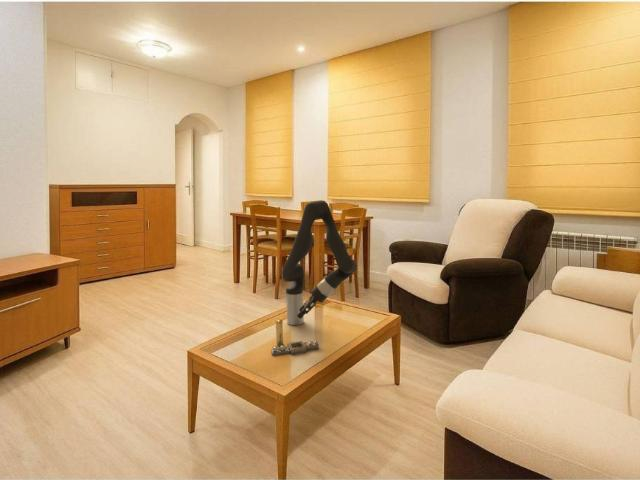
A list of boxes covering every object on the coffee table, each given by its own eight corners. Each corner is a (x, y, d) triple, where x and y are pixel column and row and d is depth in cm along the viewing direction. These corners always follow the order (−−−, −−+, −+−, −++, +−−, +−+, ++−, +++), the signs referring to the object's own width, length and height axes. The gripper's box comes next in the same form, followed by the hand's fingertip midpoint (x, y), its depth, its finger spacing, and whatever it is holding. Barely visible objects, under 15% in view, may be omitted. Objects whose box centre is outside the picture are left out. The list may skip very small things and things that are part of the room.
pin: (276, 344, 186) (275, 319, 184) (282, 343, 186) (281, 319, 185) (277, 346, 183) (276, 322, 181) (284, 345, 183) (283, 321, 182)
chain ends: (270, 350, 178) (270, 344, 178) (316, 344, 184) (316, 338, 184) (273, 357, 171) (273, 350, 170) (320, 350, 177) (320, 344, 176)
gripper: (318, 281, 187) (295, 304, 189) (316, 288, 173) (291, 313, 175) (329, 291, 187) (306, 314, 189) (328, 300, 173) (303, 324, 175)
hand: (299, 314), depth 182 cm, fingers open, 8 cm apart
